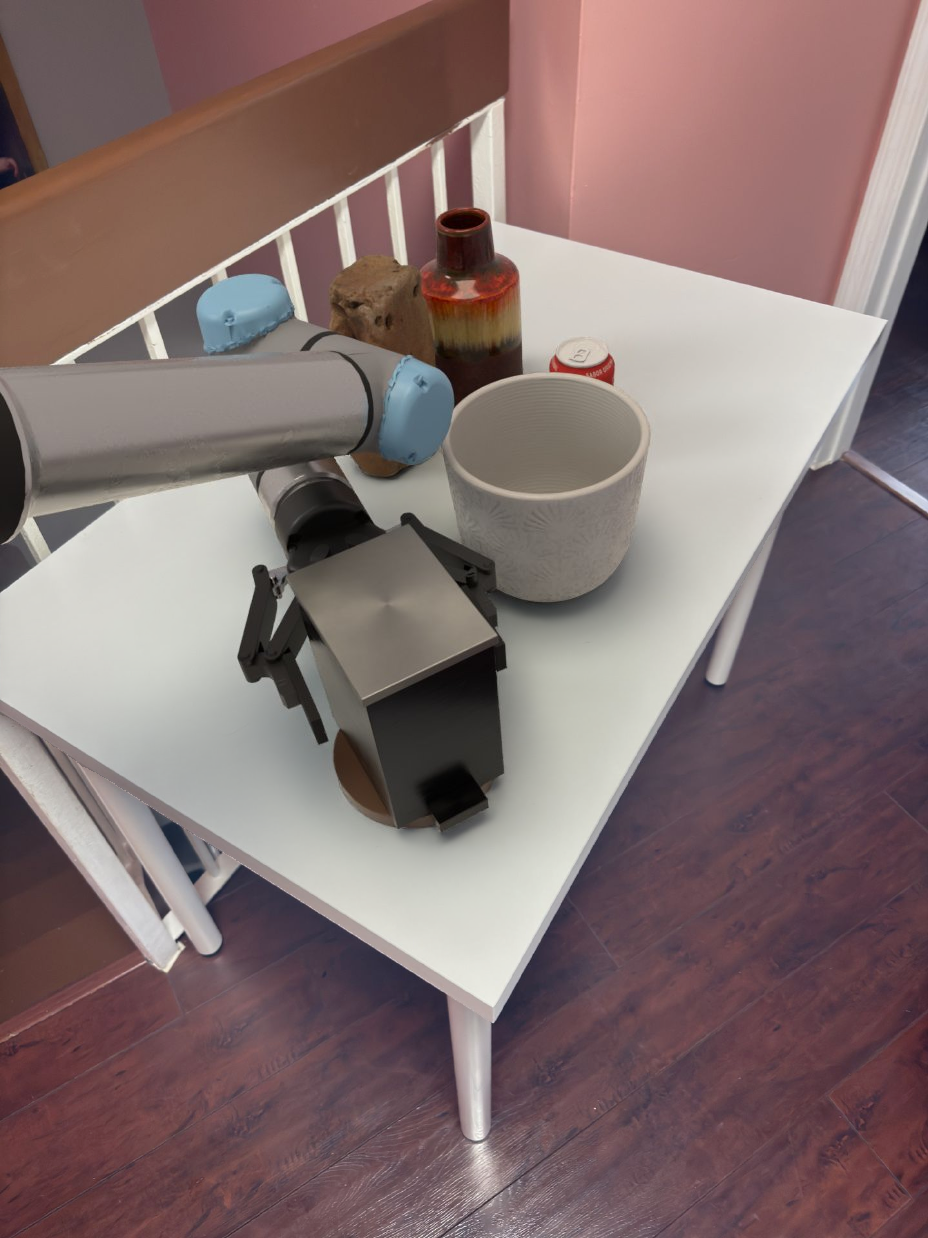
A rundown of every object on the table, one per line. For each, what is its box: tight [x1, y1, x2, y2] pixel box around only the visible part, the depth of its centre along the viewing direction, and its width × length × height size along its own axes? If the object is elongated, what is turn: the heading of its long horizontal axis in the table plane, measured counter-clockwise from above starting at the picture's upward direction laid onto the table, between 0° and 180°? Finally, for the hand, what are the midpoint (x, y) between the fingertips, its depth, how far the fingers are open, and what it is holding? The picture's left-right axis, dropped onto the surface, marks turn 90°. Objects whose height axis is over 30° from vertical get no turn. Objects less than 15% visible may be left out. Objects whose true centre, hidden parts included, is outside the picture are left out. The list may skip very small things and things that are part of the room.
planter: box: [440, 371, 651, 603], centre depth 80 cm, size 17×17×15 cm
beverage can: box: [548, 336, 616, 387], centre depth 91 cm, size 6×6×12 cm
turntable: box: [332, 727, 495, 829], centre depth 71 cm, size 13×13×2 cm
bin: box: [286, 524, 505, 834], centre depth 64 cm, size 9×14×16 cm, turn 29°
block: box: [328, 253, 436, 478], centre depth 91 cm, size 11×8×20 cm
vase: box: [419, 206, 524, 408], centre depth 97 cm, size 11×11×20 cm
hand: (413, 694), depth 63 cm, fingers open, 13 cm apart
